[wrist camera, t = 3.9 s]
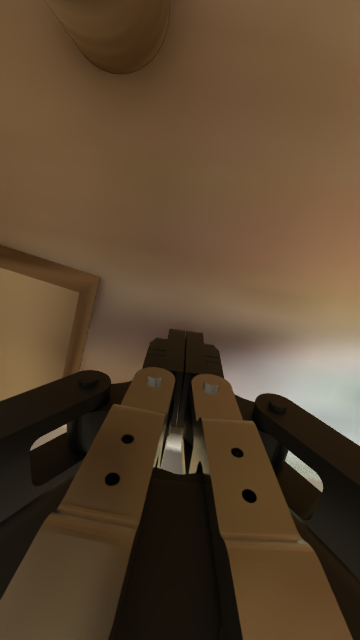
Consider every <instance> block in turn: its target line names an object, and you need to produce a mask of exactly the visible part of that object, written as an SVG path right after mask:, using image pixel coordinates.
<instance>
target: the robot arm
mask: <svg viewBox="0 0 360 640" xmlns="http://www.w3.org/2000/svg"><path fill="white" fill-rule="evenodd" d="M178 405H179V407H178ZM177 412H178V422H177V427H183V437H182V443H181V449H182V467H183V474H182V475H179V474H174V473H171V472H169V471H166V470H163V469H161V467H162V463H163V458H164V453H165V448H166V443H167V437H168V436H169V434H170V428H171V426H176V419H177ZM65 424H67V432H66V433H64V434H62V435H60V436H58V437H56V438H54V439H52V440H51V441H49V442H47V443H45V444H43V445H41V446H39V447H37V448H35V449H33V450H31V451H30V448H31V446H32V445H33V443H34V442H35V441H36V440H37V439H38V438H40V437H41V436H43V435H45V434H47V433H49V432H51V431H53V430H55V429H57V428H59V427H61V426H63V425H65ZM288 450H289V451H290V452H292V453H293V454H294V455H295V456H297V457H298V458H299V459H300V460H302V461H303V462H304V463H305V464H307V465H308V466H309V467H310V468H311V469H313V470H314V471H315V472H316V473H317V474H318V475H319V477H320V478H321V480H322V483H323V492H320V491H319V490H318V489H317V488H316V487H314V486H313V485H312V484H311V483H310V482H309V481H307V480H306V479H305V478H304V477H303V476H302V475H300V474H299V473H298V472H297V471H296V470H294V469H293V468H292V467H291V466H290V465H289V464H287V463H286V462H285V459H286V456H287V453H288ZM0 640H360V446H359V445H357V444H356V443H354V442H353V441H351V440H350V439H348V438H346V437H345V436H343V435H342V434H340V433H339V432H337V431H336V430H334V429H333V428H331V427H330V426H328V425H327V424H325V423H324V422H322V421H321V420H319V419H318V418H316V417H315V416H313V415H311V414H310V413H308V412H307V411H305V410H304V409H302V408H301V407H299V406H298V405H296V404H295V403H293V402H292V401H290V400H289V399H287V398H285V397H282V396H280V395H276V394H270V393H266V394H261V395H259V396H258V397H257V398H256V400H255V402H252V401H249V400H246V399H243V398H241V397H239V396H237V395H235V394H234V393H233V390H232V387H231V385H230V383H229V382H228V381H227V380H225V379H224V375H223V370H222V364H221V359H220V354H219V351H218V350H217V349H216V348H215V346H214V345H208V344H204V341H203V333H198V332H190V331H187V332H186V339H185V331H182V330H174V329H170V330H169V335H168V339H161V338H156V339H154V340H153V341H151V342H150V345H149V348H148V351H147V355H146V358H145V361H144V364H143V368H142V369H141V370H139V371H138V372H137V373H136V374H135V376H134V378H133V380H132V381H129V382H125V383H117V384H111V380H110V378H109V376H108V375H106V374H105V373H102V372H99V371H93V370H87V371H80V372H77V373H74V374H72V375H69V376H66V377H64V378H61V379H58V380H56V381H53V382H50V383H48V384H45V385H42V386H40V387H37V388H34V389H32V390H29V391H26V392H24V393H21V394H18V395H16V396H13V397H10V398H8V399H5V400H2V401H0Z"/></svg>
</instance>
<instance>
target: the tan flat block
mask: <svg viewBox="0 0 360 640" xmlns="http://www.w3.org/2000/svg"><path fill="white" fill-rule="evenodd" d="M99 280H100V277H98V276H95V275H92V274H89V273H86V272H83V271H79V270H76V269H73V268H70V267H67V266H64V265H61V264H58V263H55V262H52V261H48V260H45V259H42V258H39V257H36V256H33V255H30V254H27V253H24V252H21V251H17V250H14V249H11V248H8V247H5V246H2V245H0V401H2V400H5V399H8V398H10V397H13V396H16V395H18V394H21V393H24V392H26V391H29V390H32V389H34V388H37V387H40V386H42V385H45V384H48V383H50V382H53V381H56V380H58V379H61V378H64V377H66V376H69V375H72V374H74V373H77V372H79V369H80V364H81V360H82V355H83V351H84V346H85V342H86V338H87V333H88V329H89V324H90V320H91V315H92V311H93V306H94V302H95V298H96V293H97V289H98V284H99Z"/></svg>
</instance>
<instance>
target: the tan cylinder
mask: <svg viewBox="0 0 360 640" xmlns="http://www.w3.org/2000/svg"><path fill="white" fill-rule="evenodd" d="M45 2H46V3H47V4H48V6H49V7H50V9H51V10H52V11H53V13H54V14H55V16H56V17H57V18H58V20H59V21H60V23H61V24H62V25H63V27H64V28H65V30H66V31H67V32H68V34H69V35H70V37H71V38H72V39H73V41H74V42H75V44H76V45H77V46H78V48H79V49H80V50H81V52H82V53H83V54H84V56H85V57H86V58H87V59H88V60H89V61H90V62H91V63H93V64H94V65H95V66H97V67H98V68H100V69H102V70H104V71H107V72H110V73H114V74H127V73H131V72H134V71H137V70H139V69H141V68H142V67H144V66H145V65H146V64H147V63H149V62H150V61H151V60H152V58H153V57H154V56H155V55H156V53H157V52H158V50H159V49H160V47H161V45H162V43H163V40H164V38H165V35H166V31H167V27H168V21H169V0H45Z"/></svg>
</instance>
